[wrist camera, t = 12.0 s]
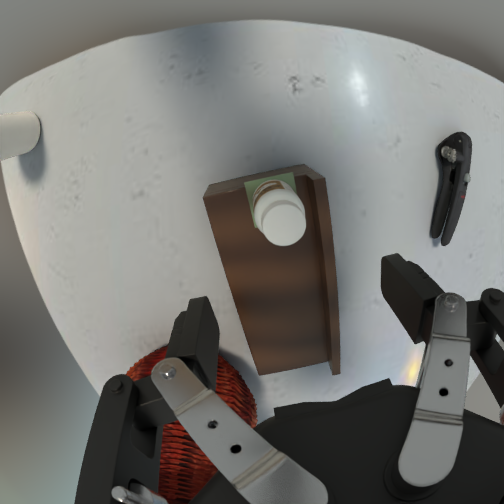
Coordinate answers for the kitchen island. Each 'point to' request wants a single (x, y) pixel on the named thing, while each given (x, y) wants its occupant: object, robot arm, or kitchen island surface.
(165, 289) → the kitchen island surface
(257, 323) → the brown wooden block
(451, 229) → the can opener
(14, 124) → the can
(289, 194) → the pill bottle
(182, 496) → the vase
